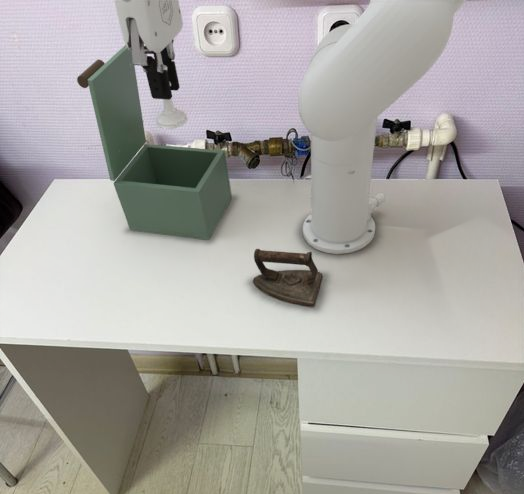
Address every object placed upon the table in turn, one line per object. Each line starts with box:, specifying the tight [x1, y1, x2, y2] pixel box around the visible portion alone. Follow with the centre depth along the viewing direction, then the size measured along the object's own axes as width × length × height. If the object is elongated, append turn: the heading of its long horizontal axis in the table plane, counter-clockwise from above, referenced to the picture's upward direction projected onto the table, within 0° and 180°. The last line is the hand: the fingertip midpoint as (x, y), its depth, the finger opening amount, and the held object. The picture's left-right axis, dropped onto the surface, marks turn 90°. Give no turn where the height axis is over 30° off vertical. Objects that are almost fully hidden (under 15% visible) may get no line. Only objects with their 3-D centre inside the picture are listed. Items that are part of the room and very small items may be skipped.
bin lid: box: [76, 44, 147, 182], centre depth 82 cm, size 17×13×5 cm
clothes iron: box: [252, 248, 323, 308], centre depth 77 cm, size 7×11×10 cm, turn 75°
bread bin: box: [113, 143, 233, 241], centre depth 91 cm, size 16×13×10 cm
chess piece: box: [156, 65, 188, 130], centre depth 75 cm, size 5×5×10 cm
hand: (166, 92), depth 75 cm, fingers closed on chess piece
